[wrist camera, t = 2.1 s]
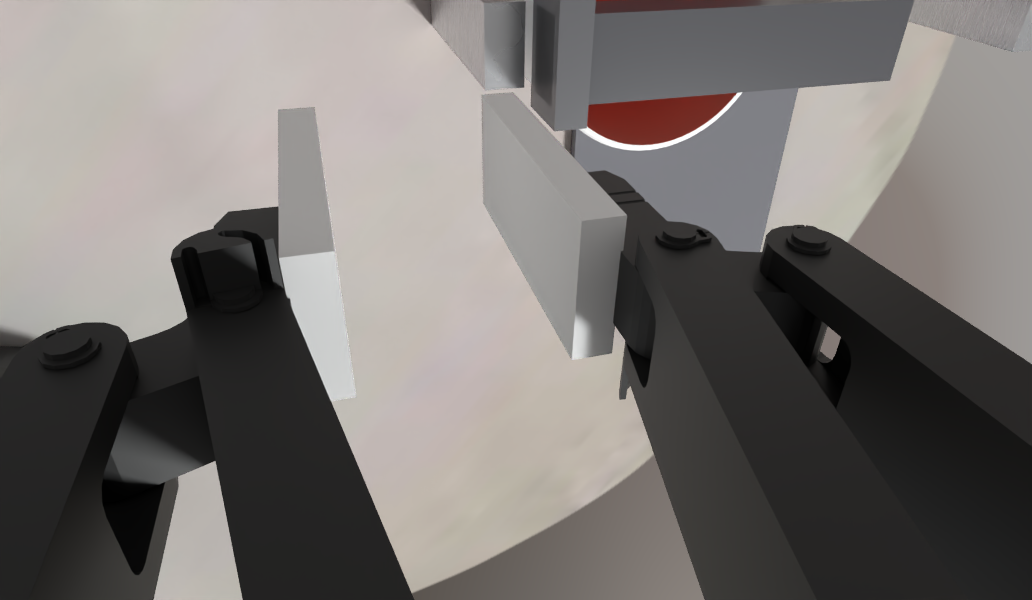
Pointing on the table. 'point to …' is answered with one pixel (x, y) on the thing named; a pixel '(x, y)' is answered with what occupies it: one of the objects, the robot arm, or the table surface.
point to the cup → (642, 112)
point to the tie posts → (501, 31)
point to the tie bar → (703, 49)
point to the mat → (709, 169)
